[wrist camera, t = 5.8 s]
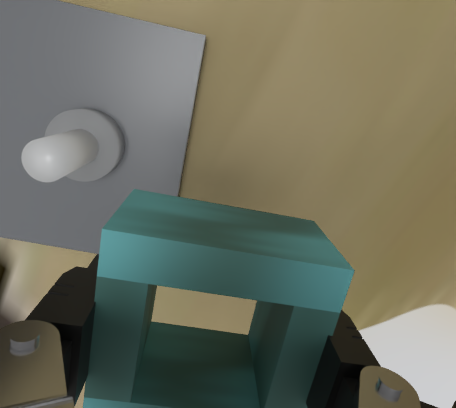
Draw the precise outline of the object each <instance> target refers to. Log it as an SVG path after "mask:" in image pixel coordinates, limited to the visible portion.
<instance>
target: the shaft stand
mask: <svg viewBox="0 0 456 408" xmlns="http://www.w3.org/2000/svg"><path fill="white" fill-rule="evenodd" d="M205 42H206V35H202V34H198V33H193V32H189V31H185V30H181V29H176V28H172V27H168V26H164V25H159V24H155V23H151V22H147V21H142V20H138V19H134V18H130V17H125V16H121V15H117V14H113V13H109V12H104V11H100V10H96V9H92V8H87V7H83V6H79V5H75V4H70V3H66V2H62V1H58V0H0V237H3V238H9V239H14V240H20V241H26V242H32V243H38V244H43V245H49V246H55V247H61V248H67V249H72V250H78V251H84V252H90V253H96V254H99V252H100V242H101V233H102V228H103V227H104V226H105V224H106V223H107V222H108V221H109V219H110V218H111V217H112V216H113V214H114V213H115V212H116V211H117V209H118V208H119V207H120V206H121V204H122V203H123V202H124V201H125V199H126V198H127V197H128V196H129V194H130V193H131V192H132V191H133V189H138V190H143V191H149V192H154V193H160V194H166V195H171V196H177V197H178V195H179V190H180V184H181V178H182V173H183V167H184V161H185V156H186V150H187V144H188V139H189V133H190V127H191V122H192V116H193V110H194V105H195V99H196V93H197V88H198V82H199V76H200V71H201V65H202V59H203V54H204V48H205Z"/></svg>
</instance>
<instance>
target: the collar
mask: <svg viewBox="0 0 456 408" xmlns="http://www.w3.org/2000/svg"><path fill="white" fill-rule="evenodd" d="M354 271H355V270H354V269H353V268H352V267H351V266H350V264H349V263H348V262H347V261H346V260H345V258H344V257H343V256H342V255H341V253H340V252H339V251H338V250H337V249H336V247H335V246H334V245H333V244H332V243H331V241H330V240H329V239H328V238H327V237H326V235H325V234H324V233H323V232H322V230H321V229H320V228H319V227H318V226H317V224H316V223H315V222H314V221H311V220H306V219H300V218H295V217H289V216H283V215H278V214H272V213H267V212H261V211H255V210H250V209H244V208H239V207H233V206H227V205H222V204H216V203H211V202H205V201H199V200H194V199H188V198H182V197H177V196H171V195H166V194H160V193H154V192H149V191H143V190H138V189H133V191H132V192H131V193H130V194H129V196H128V197H127V198H126V199H125V201H124V202H123V203H122V204H121V206H120V207H119V208H118V209H117V211H116V212H115V213H114V214H113V216H112V217H111V218H110V219H109V221H108V222H107V223H106V224H105V226H104V227H103V228H102V233H101V242H100V252H99V261H98V270H97V280H96V289H95V299H94V302H96V305H95V314H94V323H93V332H92V341H91V351H90V360H89V369H88V376H87V379H86V383H85V393H84V402H83V408H307V405H306V400H307V397H308V394H309V391H310V388H311V385H312V382H313V379H314V376H315V373H316V370H317V367H318V364H319V361H320V358H321V355H322V352H323V349H324V346H325V343H326V340H327V337H328V335H330V336H333V333H334V330H335V327H336V324H337V321H338V318H339V315H340V312H341V309H342V306H343V303H344V300H345V297H346V294H347V291H348V288H349V285H350V282H351V280H352V277H353V274H354ZM157 285H159V286H165V287H172V288H179V289H185V290H192V291H199V292H205V293H212V294H218V295H225V296H232V297H238V298H245V299H252V300H257V303H256V307H255V311H254V315H253V319H252V323H251V326H250V330H249V334H248V335H244V334H237V333H230V332H223V331H216V330H208V329H201V328H194V327H187V326H180V325H173V324H165V323H158V322H151V319H152V313H153V307H154V300H155V294H156V288H157Z"/></svg>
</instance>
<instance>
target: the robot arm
mask: <svg viewBox="0 0 456 408" xmlns="http://www.w3.org/2000/svg"><path fill="white" fill-rule="evenodd" d="M98 261H99V254H97V255H96V256H95V258H94V259H93V261H92V262H91V263H90V265H89V266H88V268H82V267H75V268H73V269H71V270H69V271H67V272H65V273H63V274H62V275H61V277H60V278H59V279H58V280H57V282H56V283H55V285H53V286H52V288H51V289H50V290H49V291H48V294H46V295H45V296H44V297H43V299H42V300H41V301H40V302H39V304H38V305H37V306H36V307H35V309H34V310H33V311H32V312H31V313H30V315H29V316H28V317H27V318H26V320H25V321H19V322H15V323H12V324H9V325H7V326H5V327H2V328H1V329H0V408H74V406H75V404H76V402H77V400H78V397H79V395H80V393H81V390H82V388H83V386H84V383H85V381H86V379H87V376H88V369H89V360H90V351H91V341H92V332H93V323H94V314H95V305H96V302H94V299H95V289H96V280H97V270H98ZM306 405H307V408H437V407H435V406H432V405H429V404H426V403H424V402H421V401H419V397H418V394H417V392H416V391H415V389H414V388H413V387H412V386H411V385H410V384H409V383H408V382H407V381H406V380H405V379H404V378H402V377H401V376H400V375H398V374H396V373H395V372H392V371H391V370H389V369H386V368H383V367H381V366H380V364H379V363H378V361H377V360H376V358H375V356H374V355H373V353H372V352H371V350H370V349H369V347H368V345H367V344H366V342H365V341H364V339H362V336H361V334H360V333H359V331H358V330H356V326H355V325H354V323H353V322H352V320H351V318H350V317H349V316H348V315H347V314H345V313H344V312H343V311H342V310H341V312H340V315H339V318H338V321H337V324H336V327H335V330H334V333H333V336H330V335H328V337H327V340H326V343H325V346H324V349H323V352H322V355H321V358H320V361H319V364H318V367H317V370H316V373H315V376H314V379H313V382H312V385H311V388H310V391H309V394H308V397H307V400H306ZM452 408H456V401H455V402H454V405H453V407H452Z"/></svg>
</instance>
